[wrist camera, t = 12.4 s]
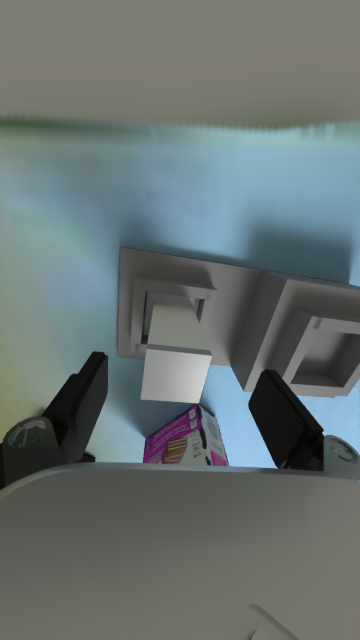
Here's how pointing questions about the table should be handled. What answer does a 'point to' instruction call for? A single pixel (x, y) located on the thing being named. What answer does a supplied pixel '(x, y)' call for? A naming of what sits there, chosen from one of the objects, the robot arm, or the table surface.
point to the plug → (175, 355)
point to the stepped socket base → (249, 319)
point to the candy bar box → (188, 441)
